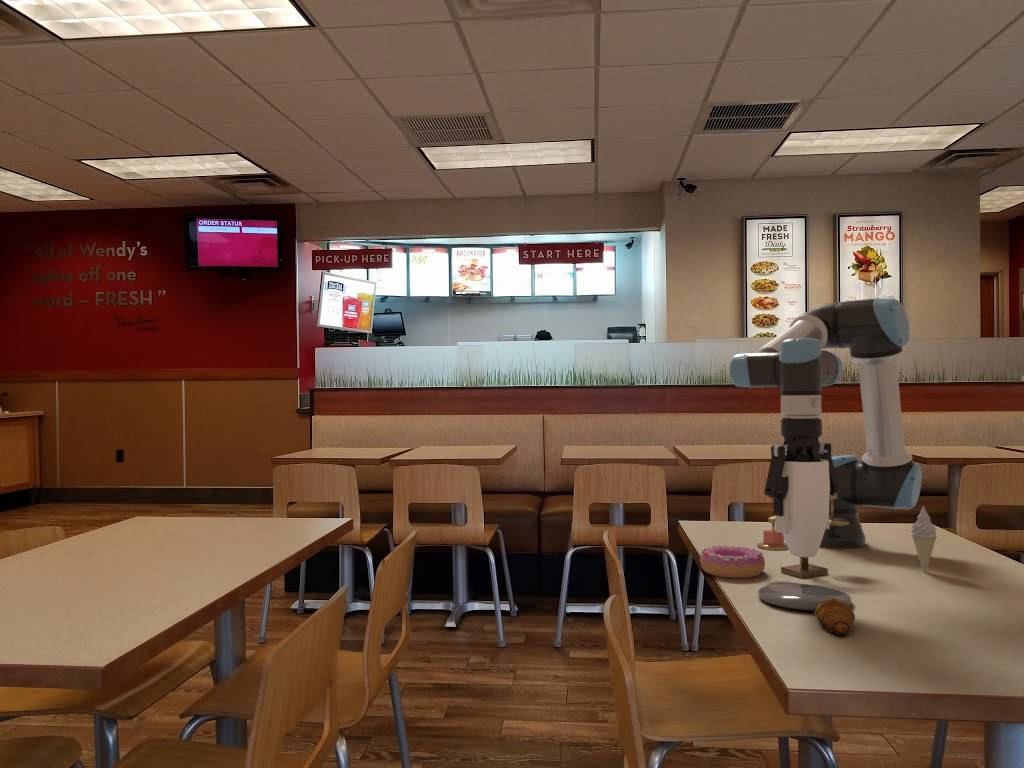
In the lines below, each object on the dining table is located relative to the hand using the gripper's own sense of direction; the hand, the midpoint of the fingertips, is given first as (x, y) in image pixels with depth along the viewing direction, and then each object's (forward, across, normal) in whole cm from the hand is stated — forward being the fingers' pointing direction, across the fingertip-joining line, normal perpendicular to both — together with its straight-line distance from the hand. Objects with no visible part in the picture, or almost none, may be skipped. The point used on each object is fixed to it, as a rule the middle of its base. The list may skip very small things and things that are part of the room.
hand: (802, 530), depth 150 cm
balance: (+14, +17, +16) cm, 27 cm away
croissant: (+14, -7, -14) cm, 21 cm away
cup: (+8, 0, 0) cm, 8 cm away
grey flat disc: (+14, 0, 0) cm, 14 cm away
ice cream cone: (+14, +41, +4) cm, 44 cm away
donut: (+14, +4, +25) cm, 29 cm away
